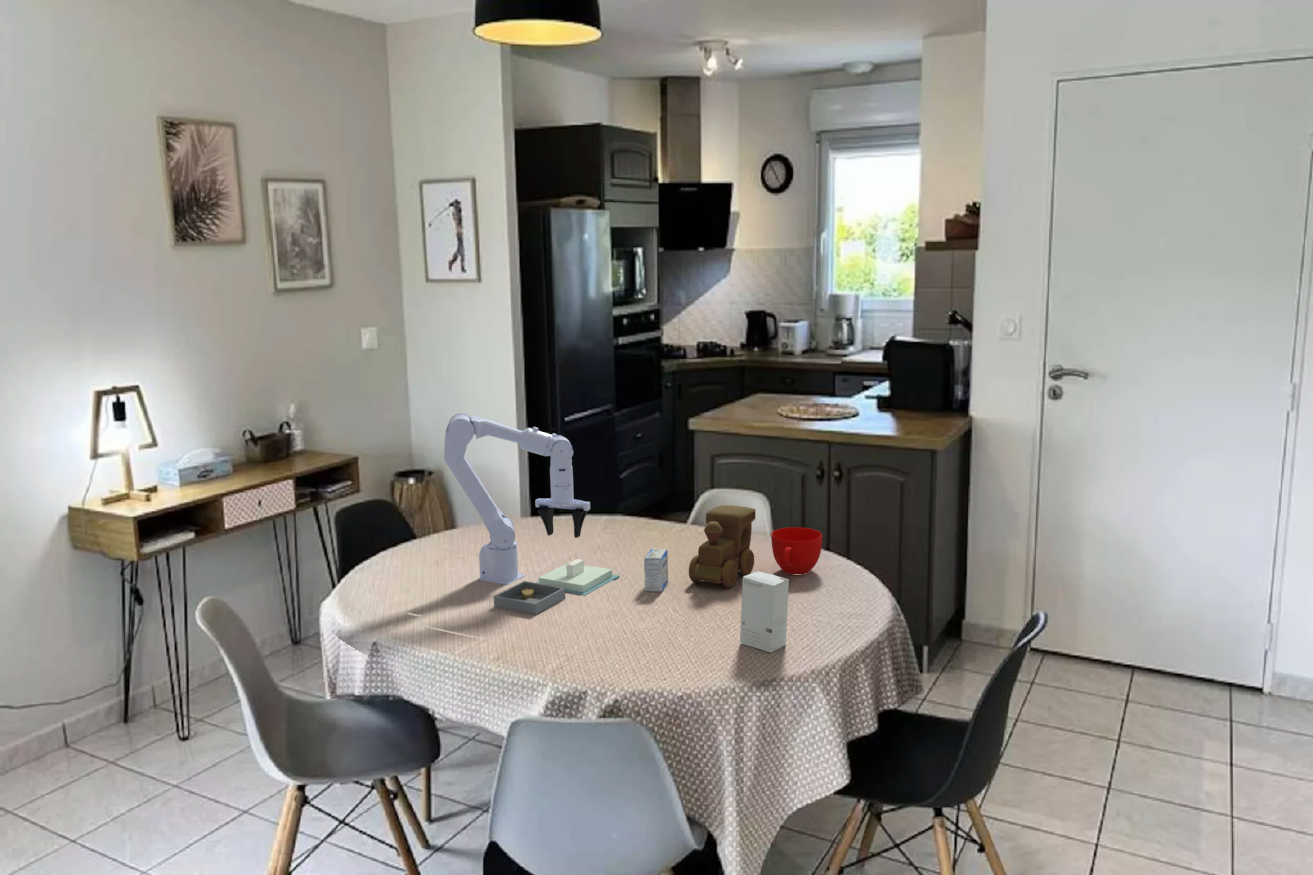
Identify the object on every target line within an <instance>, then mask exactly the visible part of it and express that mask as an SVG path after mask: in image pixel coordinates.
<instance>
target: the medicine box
mask: <svg viewBox="0 0 1313 875" xmlns="http://www.w3.org/2000/svg"><path fill="white" fill-rule="evenodd" d="M668 555H669V554H668V549H665V548H651V549H650V550H649V552H648V553H647V554H646V556H645V557H644V559H643V569H644V571H643V572H644V589H645V592H651V593H653V592H654V593H655V592H657V593H663V591H664V589H665V588H666V586H667V584H668V583H669V563H668V562H669V558H668Z"/></svg>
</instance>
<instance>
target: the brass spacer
mask: <svg viewBox="0 0 1313 875" xmlns="http://www.w3.org/2000/svg"><path fill="white" fill-rule="evenodd" d="M521 593H522V599H524V600H527V599H529V598H534V589H533V588H524V589H522V590H521Z"/></svg>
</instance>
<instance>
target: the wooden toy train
mask: <svg viewBox="0 0 1313 875" xmlns="http://www.w3.org/2000/svg"><path fill="white" fill-rule="evenodd" d="M755 520H756V508H752V507H748V506H742V505H741V506H740V505H731V504H729V505H728V504H723V505H722V504H721V505H719V506H715V507H713V508H712V509H710V510H708V511H707V512H706V513H705V524H706V526H705V527H704V528H703V529H704V530H703V532H704V534H705V536H706V538H707V541H704V542H702V544H701V545H699V546H698V553H697V555H694V556H693V557H692V558H691V560H690V561H689V562H690V563H689V565H688V566H689V567H688V576H689V579H690V581H691V582H692V583H694V584H697V583H700V582H701V581H703V582H707V583H708V582H709V583H714V584H720V583H721V585H723V587H724V588H726V589H730V588H732V587H733V586H734V585H735V583H736V582H737V579H738V571H739V572H740V574H741V575H742V576H743V577H744V576H746V575H749V574H751V573H752V571H753V570H754V569H753V568H754V567H755V566H754V565H755V554H754V552H753V550H752V549H750V546H751V542H752V541H751V540H752V529H753V528H752V524H753V523H752V522H754V521H755Z"/></svg>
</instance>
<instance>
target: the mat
mask: <svg viewBox="0 0 1313 875" xmlns="http://www.w3.org/2000/svg"><path fill="white" fill-rule="evenodd" d="M620 577H621V576H620V575H619V574H613V573H612V577H610V578H608V579H607V580H605V581H603V582H601V583H600V584H598V585H596V586H594V587H593V588H591V589H589V590H587V591H585V592H578V591H572V590H567V589H565V593H570V594H574V595H580V596H587V595H588V594H591V593H592V592H594V591H595V590H597V589H599V588H601V587H603V586H605V585H606V584H608V583H610V582H612V581H616V580H618V579H619V578H620ZM536 583H539V581H537V582H536Z"/></svg>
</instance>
